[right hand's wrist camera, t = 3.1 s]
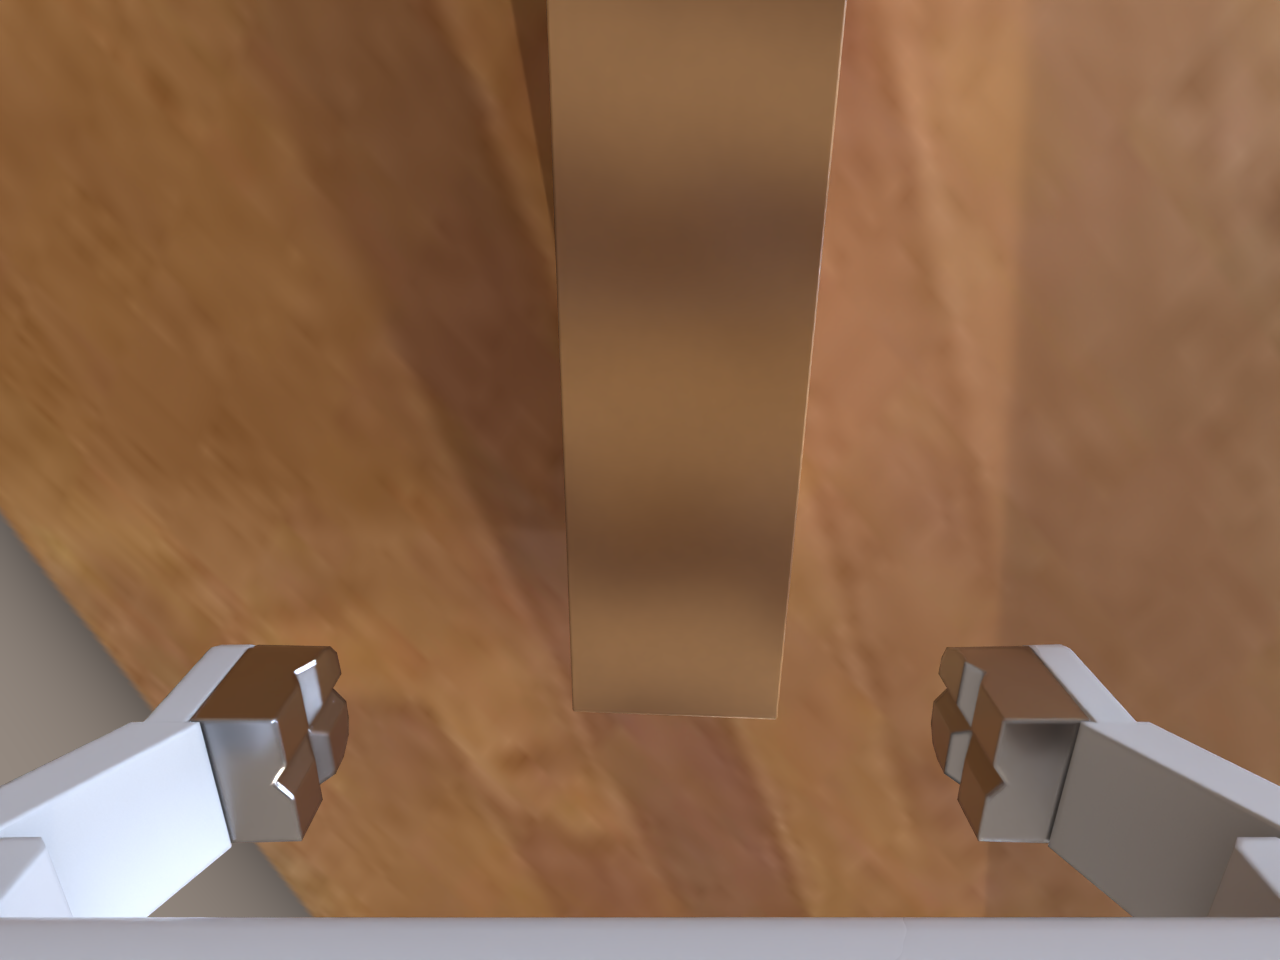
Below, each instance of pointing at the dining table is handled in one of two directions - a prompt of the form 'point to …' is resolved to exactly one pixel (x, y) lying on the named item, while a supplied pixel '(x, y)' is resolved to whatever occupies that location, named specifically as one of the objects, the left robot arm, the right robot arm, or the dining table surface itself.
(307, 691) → the right robot arm
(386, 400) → the dining table surface
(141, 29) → the dining table surface
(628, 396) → the post
